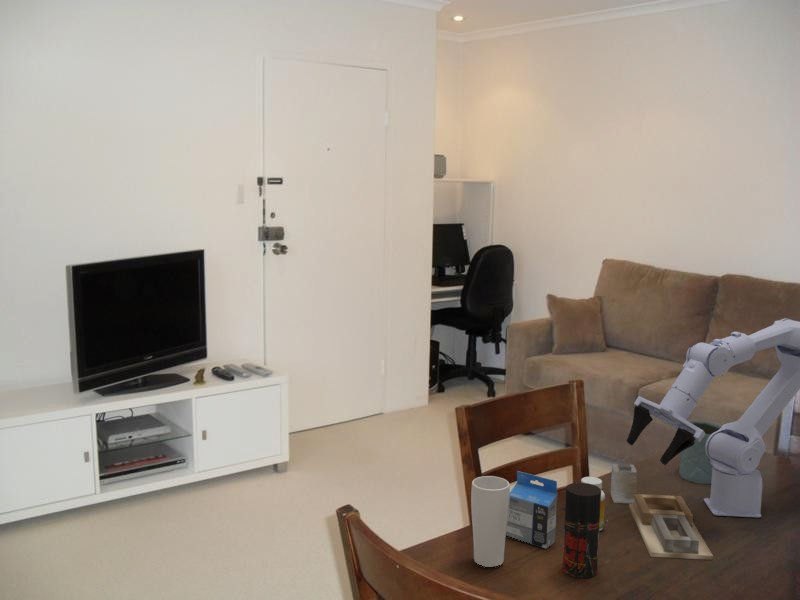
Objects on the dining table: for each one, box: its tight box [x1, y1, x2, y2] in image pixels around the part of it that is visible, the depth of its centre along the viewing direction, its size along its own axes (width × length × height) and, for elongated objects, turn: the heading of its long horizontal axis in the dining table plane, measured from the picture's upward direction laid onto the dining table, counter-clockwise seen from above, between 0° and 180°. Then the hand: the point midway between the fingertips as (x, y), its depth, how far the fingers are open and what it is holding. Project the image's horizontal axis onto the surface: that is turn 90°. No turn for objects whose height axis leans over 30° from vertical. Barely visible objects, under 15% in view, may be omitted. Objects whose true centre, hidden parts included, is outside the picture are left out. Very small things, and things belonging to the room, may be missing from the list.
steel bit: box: [610, 462, 638, 504], centre depth 173 cm, size 4×4×8 cm
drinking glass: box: [470, 475, 511, 568], centre depth 144 cm, size 7×7×15 cm
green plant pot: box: [679, 420, 723, 485], centre depth 185 cm, size 10×10×12 cm
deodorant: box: [562, 482, 602, 579], centre depth 141 cm, size 6×6×15 cm
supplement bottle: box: [580, 476, 606, 532], centre depth 159 cm, size 5×5×10 cm
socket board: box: [628, 493, 714, 561], centre depth 157 cm, size 11×22×3 cm, turn 174°
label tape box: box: [506, 470, 558, 549], centre depth 153 cm, size 9×4×12 cm, turn 53°
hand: (645, 452), depth 157 cm, fingers open, 7 cm apart
